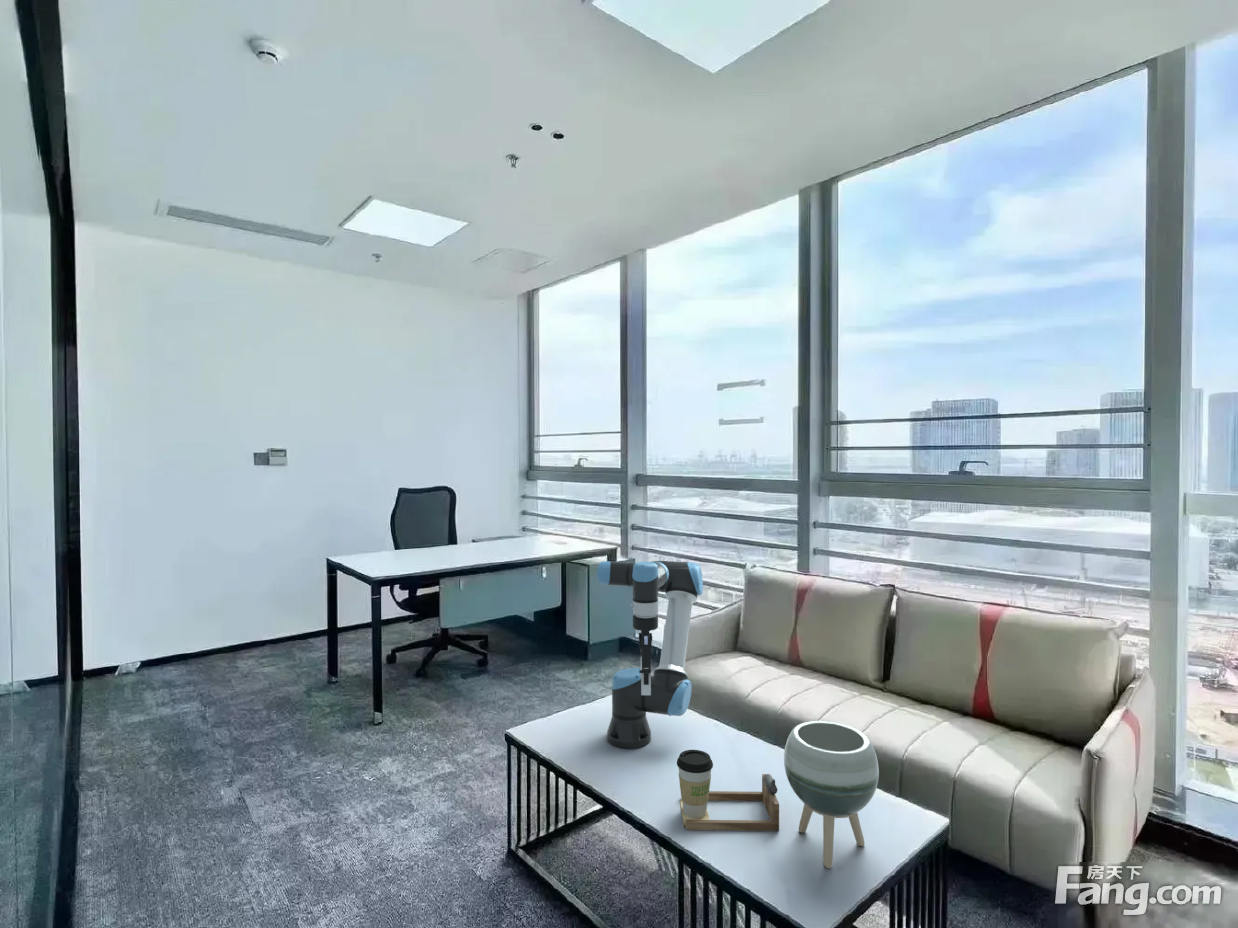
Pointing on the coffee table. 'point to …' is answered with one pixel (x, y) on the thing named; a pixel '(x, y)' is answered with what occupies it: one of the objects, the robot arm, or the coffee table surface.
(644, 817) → the coffee table surface
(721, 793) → the bay
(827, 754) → the planter
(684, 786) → the coffee cup
